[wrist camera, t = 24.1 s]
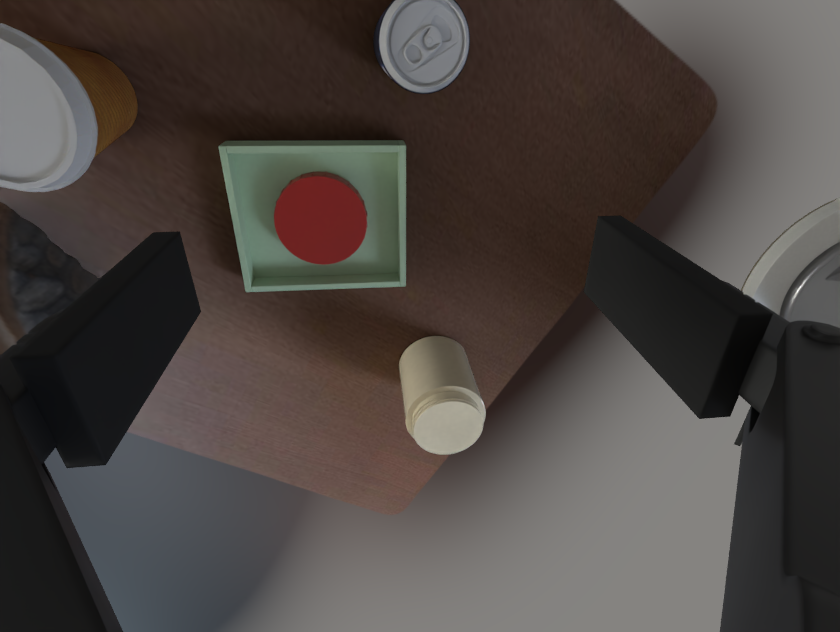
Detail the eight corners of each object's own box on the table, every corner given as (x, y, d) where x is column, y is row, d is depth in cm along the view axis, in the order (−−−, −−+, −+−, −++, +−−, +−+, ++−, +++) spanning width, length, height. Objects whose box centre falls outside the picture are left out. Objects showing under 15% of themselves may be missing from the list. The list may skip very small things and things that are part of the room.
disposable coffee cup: (135, 21, 35) (42, 11, 25) (175, 153, 40) (111, 190, 30) (1, 29, 35) (-152, 22, 24) (58, 162, 39) (-49, 203, 29)
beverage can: (456, 50, 39) (492, 52, 28) (403, 97, 40) (418, 115, 30) (414, -17, 36) (436, -42, 26) (358, 36, 37) (358, 32, 27)
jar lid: (257, 199, 42) (253, 204, 41) (336, 153, 41) (335, 157, 40) (309, 272, 46) (308, 280, 45) (383, 232, 45) (384, 239, 44)
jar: (469, 333, 53) (493, 393, 44) (465, 390, 57) (485, 456, 48) (398, 337, 52) (407, 398, 43) (399, 394, 56) (406, 462, 47)
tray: (403, 140, 42) (406, 145, 40) (403, 275, 48) (406, 286, 46) (225, 140, 40) (217, 145, 38) (250, 281, 47) (245, 292, 44)
